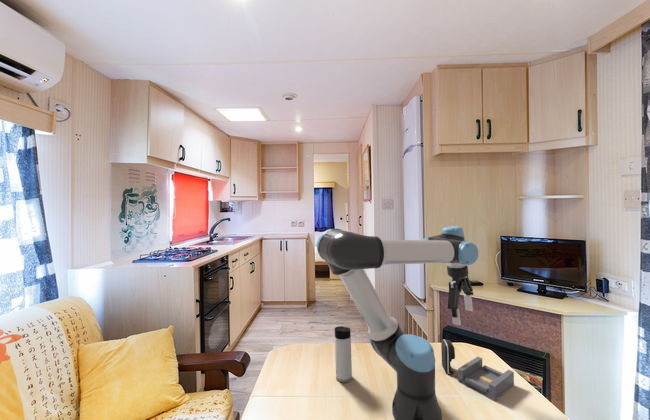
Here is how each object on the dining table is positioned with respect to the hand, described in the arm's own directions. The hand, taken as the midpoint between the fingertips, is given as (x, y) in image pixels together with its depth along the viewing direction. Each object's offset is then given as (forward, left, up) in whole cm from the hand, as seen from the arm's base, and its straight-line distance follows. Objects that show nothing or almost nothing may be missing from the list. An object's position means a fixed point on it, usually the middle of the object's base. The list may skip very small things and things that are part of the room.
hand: (463, 317), depth 113 cm
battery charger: (-5, +4, -22) cm, 22 cm away
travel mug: (-42, +25, -22) cm, 53 cm away
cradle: (-2, -9, -21) cm, 23 cm away
